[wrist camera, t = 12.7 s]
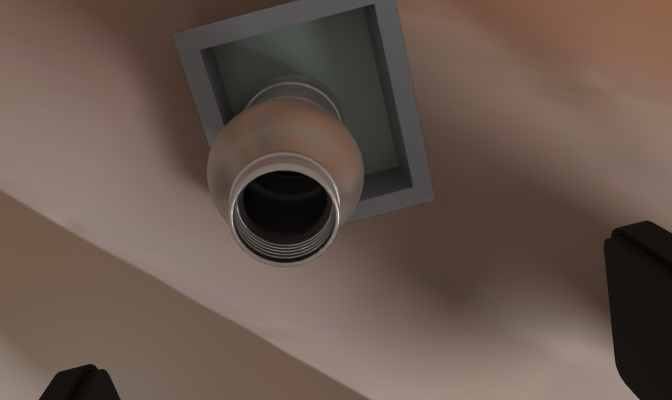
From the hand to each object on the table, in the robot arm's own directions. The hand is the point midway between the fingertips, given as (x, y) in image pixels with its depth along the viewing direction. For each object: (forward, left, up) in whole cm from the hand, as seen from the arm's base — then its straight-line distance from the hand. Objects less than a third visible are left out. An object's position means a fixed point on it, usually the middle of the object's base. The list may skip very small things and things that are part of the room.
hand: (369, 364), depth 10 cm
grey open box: (0, 0, -30) cm, 30 cm away
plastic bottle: (0, +2, -29) cm, 29 cm away
